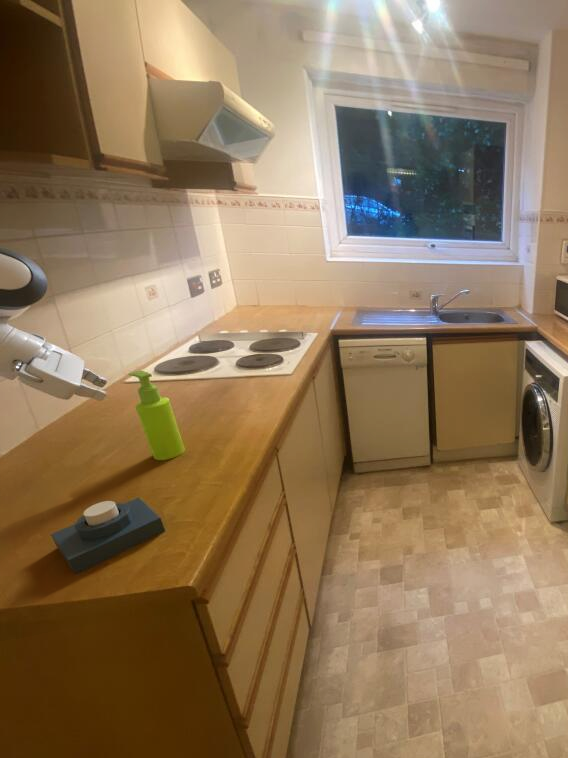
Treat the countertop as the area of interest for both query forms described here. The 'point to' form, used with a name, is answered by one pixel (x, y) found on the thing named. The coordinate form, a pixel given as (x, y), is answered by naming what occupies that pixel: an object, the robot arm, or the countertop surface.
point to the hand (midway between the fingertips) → (105, 390)
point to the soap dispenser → (157, 420)
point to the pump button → (101, 513)
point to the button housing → (107, 535)
